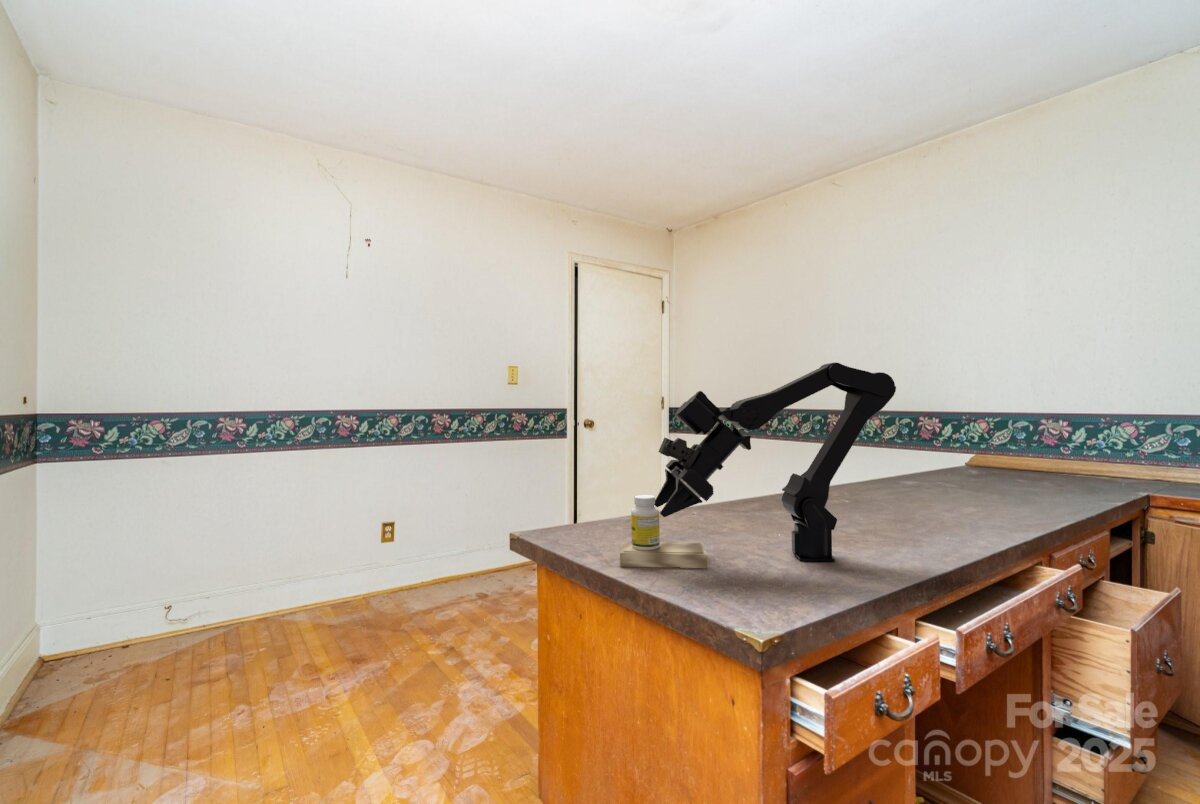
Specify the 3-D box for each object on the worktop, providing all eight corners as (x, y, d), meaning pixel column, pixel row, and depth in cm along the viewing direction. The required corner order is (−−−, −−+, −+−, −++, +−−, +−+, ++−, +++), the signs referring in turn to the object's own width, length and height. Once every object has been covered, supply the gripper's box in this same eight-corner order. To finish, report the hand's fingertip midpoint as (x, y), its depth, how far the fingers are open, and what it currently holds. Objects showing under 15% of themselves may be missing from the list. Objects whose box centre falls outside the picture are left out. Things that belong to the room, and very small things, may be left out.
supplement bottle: (633, 543, 107) (633, 493, 107) (661, 544, 106) (660, 494, 106) (629, 550, 102) (628, 498, 102) (658, 551, 101) (657, 499, 101)
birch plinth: (703, 555, 107) (703, 542, 107) (707, 568, 99) (706, 553, 99) (623, 554, 109) (623, 540, 109) (620, 566, 101) (620, 552, 101)
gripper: (674, 420, 114) (624, 475, 113) (693, 424, 95) (632, 489, 95) (712, 456, 114) (662, 511, 114) (738, 467, 95) (678, 532, 95)
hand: (658, 510), depth 104 cm, fingers open, 9 cm apart
